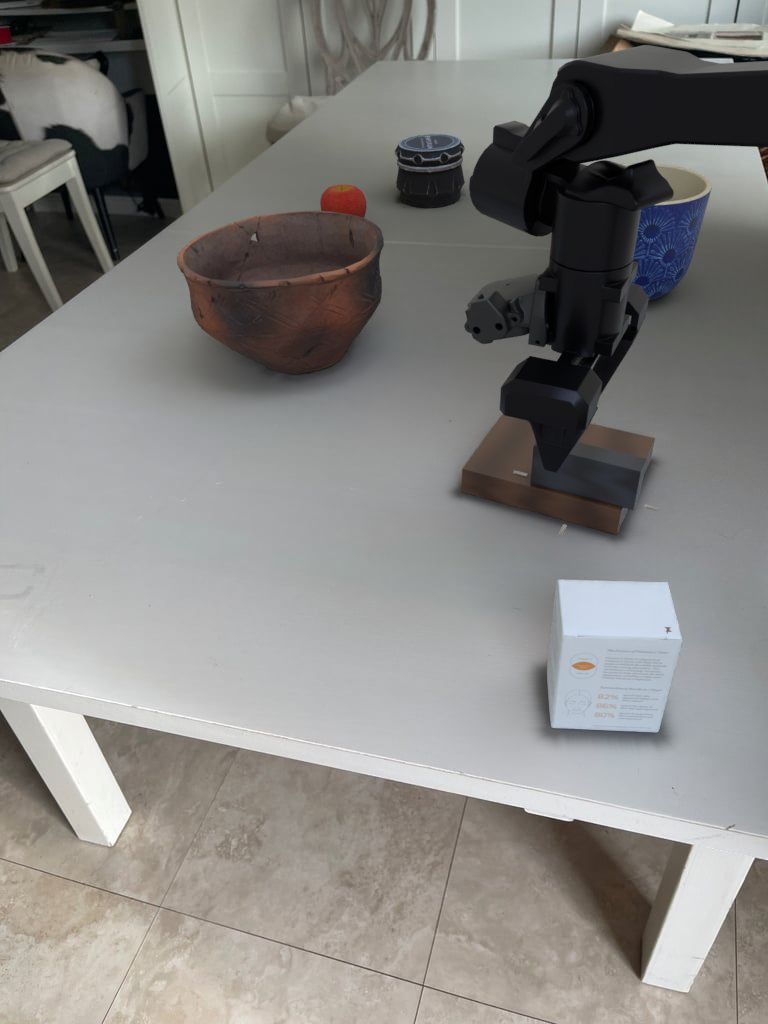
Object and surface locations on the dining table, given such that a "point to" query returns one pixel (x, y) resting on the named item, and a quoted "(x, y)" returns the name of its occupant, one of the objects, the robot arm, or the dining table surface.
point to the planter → (670, 231)
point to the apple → (344, 200)
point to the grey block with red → (594, 475)
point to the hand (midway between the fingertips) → (568, 439)
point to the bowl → (286, 286)
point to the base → (507, 477)
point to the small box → (611, 654)
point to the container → (430, 170)
